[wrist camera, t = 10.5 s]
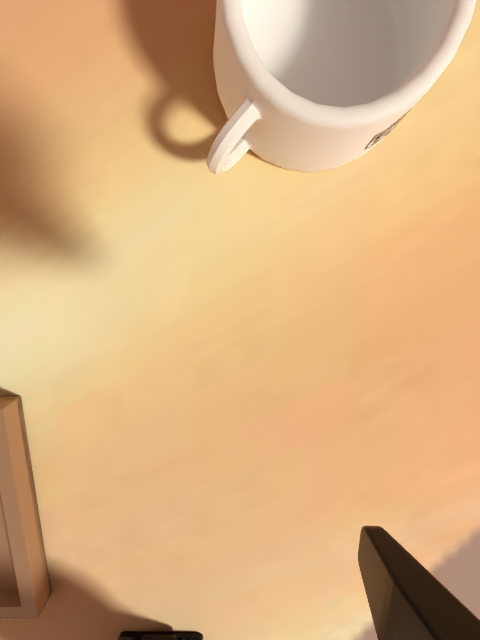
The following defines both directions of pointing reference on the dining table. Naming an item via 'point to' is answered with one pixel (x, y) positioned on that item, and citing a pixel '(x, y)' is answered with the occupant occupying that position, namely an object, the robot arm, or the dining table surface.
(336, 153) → the mug
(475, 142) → the dining table surface
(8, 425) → the tray
